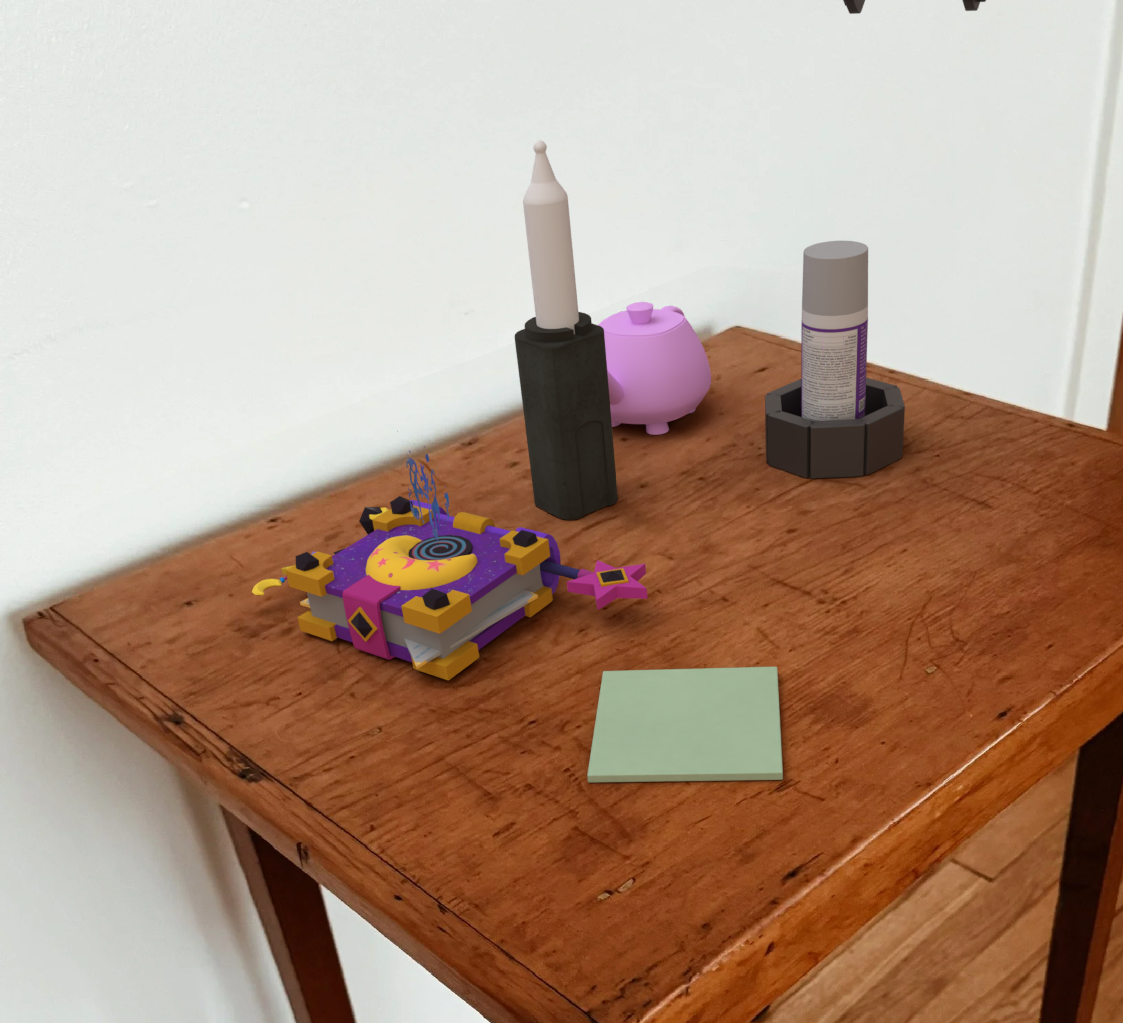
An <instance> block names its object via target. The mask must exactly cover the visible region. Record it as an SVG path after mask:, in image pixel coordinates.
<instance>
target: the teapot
mask: <svg viewBox="0 0 1123 1023" xmlns="http://www.w3.org/2000/svg"><path fill="white" fill-rule="evenodd" d="M625 309H626V310H622V311H619V312H616V313H613V314H612V315H610V316H608V317H605V318H604V319H603V320H601V321H600V323H598V324H597V325H598V326H601V327H602V328H603V329H604V337H605V349H606V361H607V373H608V385H609V397H610V409H611V421H612V428H615V427H618V426H620V425H621V424H627V425H628V424H629V425H645V432H646V433H647V434H649V435H653V436H654V435H655V436H656V435H657V436H658V435H663V434H666V433H668V432H669V431H670V427H669V424H668V423H669V422H672V421H675V420H678V419H680V418H683V417H684V416H686V415H689V414H692V413H694V412H695V411H696V408H697V407H698V406H699V405H700V404H701V402H702V401H703V400H704V398H705V397H706V395H707V393H709V390H710V388H711V386H712V385H711V384H712V373H711V368H710V363H709V360H708V355H707V353H706V350H705V348H704V346H703V344H702V342H701V340H700V338H699V335H697V333H696V331H695V330H694V328H693V326H692V325H691V323H690V322H689V320H688V319H687V318H686V316H685V313H684V312H683V310H682V309H681V308H679V307H678V306H674V305H666V306H663V307H661V308H660V309H659V308H658V309H657V308H654V304H653V303H651V302H647V301H638V302H633V303H631V304H629V305H627V306H626V308H625Z"/></svg>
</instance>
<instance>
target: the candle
mask: <svg viewBox="0 0 1123 1023" xmlns="http://www.w3.org/2000/svg"><path fill="white" fill-rule="evenodd" d="M547 148H548V146H547V144H546V143H545V141H543V140H541V139H539V140H536V141H535V142H534V144H533V148H532V149H533V152H534V153H535V156H534V161H533V166H532V173H531V179H530V183H529V185H528V186H527V189H526V191H525V193H524V195H523V198H522V199H523V200H522V205H523V215H524V216H523V217H524V225H525V232H526V242H527V251H528V252H527V253H528V260H529V269H530V270H529V271H530V278H531V287H532V295H533V297H532V298H533V304H534V306H533V307H534V312H535V316H533V317H531V318H529V319H527V321H526V322H525V323H524V328H523V329H521V330H518V331H516V333H515V334H514V344H515V353H516V360H517V361H516V362H517V370H518V377H519V386H520V394H521V395H520V396H521V402H522V409H523V410H522V411H523V419H524V427H525V435H526V443H527V451H528V460H529V468H530V476H531V484H532V491H533V501H534V505H535V506H536V507H537V508H539V509H540V510H543V511H545V512H546V513H549V514H551V515H553V517H554V516H555V517H556V518H558V519H561V520H566V521H575V520H579V519H582V518H584V516H586V515H588V514H591V513H593V512H596V511H598V510H600V509H603V508H605V507H608V506H610V507H611V506H613V505H615V504H617V502H618V501H619V496H618V484H617V483H618V482H617V472H616V471H617V470H616V460H615V448H614V435H613V434H614V432H613V427H612V421H611V409H610V397H609V385H608V373H607V361H606V349H605V337H604V329H603V328H602V327H601V326H598V324H596V323H593V322H592V317H591V315H589V314H588V313H586V312H582V311H579V304H578V294H577V291H578V290H577V284H576V283H577V282H576V271H575V262H574V261H575V260H574V250H573V241H572V240H573V238H572V229H571V228H572V227H571V217H570V207H569V198H568V196H569V195H568V194H567V191H566V190H565V188H564V187H563V186H562V184H560V182H559V181H558V179H557V178H556V176H555V173H554V170H553V168H552V165H551V163H550V160H549V157H548V155H547V153H546V152H547Z"/></svg>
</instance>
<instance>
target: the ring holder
mask: <svg viewBox="0 0 1123 1023" xmlns="http://www.w3.org/2000/svg"><path fill="white" fill-rule="evenodd" d="M905 412H906V405H905V402H904V399H903V395H902V392H901V388H900V387H898V385H896V384H892V383H888V382H884V381H881V380H877V379H874V378H869V377H866V398H865V416H864V417H862V418H860V419H848V420H829V421H812V420H809V419H806V418H802V417H801V378H799V379H797V380H795V381H794V380H793V381H792V382H790V383H787V384H786V385H783V386H780V387H779V388H776V389H773V390H771V391H769V392H767V393H766V394H765V395H764V426H765V428H764V430H765V432H764V433H765V434H764V436H765V438H764V439H765V441H764V442H765V461H766V464H768V466H770V467H772V468H776V469H779V470H781V471H784V472H787V473H790V474H793V475H795V476H799V477H802V478H804V479H808V478H810V480H813V479H814V480H815V479H835V478H836V479H837V478H856V477H864V475H865V476H869V475H871V474H873V473H875V472H877V471H878V470H881V469H882V468H885V467H887V466H889V465H891V464H893V463H895V462H897V461H899V460H901V459H902V457H903V455H904V454H903V452H904V436H905V435H904V433H905V416H906V414H905Z"/></svg>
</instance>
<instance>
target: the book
mask: <svg viewBox="0 0 1123 1023" xmlns="http://www.w3.org/2000/svg"><path fill="white" fill-rule="evenodd" d="M396 431H397V432H398V430H396ZM414 445H416V444H415V442H414ZM423 447H424V448H425V447H426V446H425V445H423ZM408 452H409V454H412V453H411V450H408ZM406 457H407V458H408V459H406V462H405V467H406V468H407V469H408V468H409V473H408V474H409V481H410V484H411V486H412V488H413V492H412V489H410V488H409V485H408V486H407V490H408V498H409V499H407V498H405V497H403V496H400V495H399V496H397V497H396V498H394V499H392V500H391V501H390V502H389V505H390V509H388V508H387V507H380V506H364V508H363V511H362V513H361V515H360V517H359V523H360V525H361V526H362V528H363V530H364V531H365V533H366V536H363V537H362V538H360V539H359V540H357V541H355V542H354V543H352V544H350V545H349V546H347V547H346V548H342V549H339V550H337V551H334V552H333V554H334V555H332V554H328V553H324V552H321V551H312V552H311V553H310V552H308V551H305V552H303V553H300V554H298V555H295V564H294V565H290V566H285V567H281V568H280V569H281V573H282V575H286V576H285V577H284V576H283V577H280V578H279V579H277V578H266V579H263V580H260V581H259V582H257V583H256V584H255V585H254V586H252V590H251V593H252V594H254V596H257V597H263V596H264V595H265V591H266V590H268V589H270V588H274V587H281V586H282V583H283V584H284V583H285V582H286V580H287V582H288V586H289V588H292V589H296V590H298V591H301V592H305V593H306V595H307V598H305V599H303V600H301V601H299V605H300V606H302V607H306V608H308V610H307V611H305V612H304V613H302V614H300V615H299V616H297V623H298V627H299V630H300V631H301V632H303V633H306V634H310V635H312V636H314V637H318V638H321V639H324V640H327V641H330V642H333V641H335V640H337V639H338V638H339V639H341V640H343V641H347V642H349V643H352V644H353V648H354V649H355V650H357V651H361V652H365V653H368V654H371V655H374V656H376V657H380V658H382V659H385V660H388V661H390V660H392V659H394V658H397V659H401V660H404V661H406V662H409V663H412V669H414V670H416V671H419V672H422V673H425V674H427V675H431V676H434V677H437V678H440V679H443V680H445V681H450V680H451V679H452V678H454V677H456V675H458V674H459V673H461V672H462V671H463V670H465V669H466V668H468V667H469V666H470V665H471V664H473V663H475V661H477V660H478V659H479V658H480V653H479V651H480V650H481V649H482V648H484V647H485V646H486V645H487V644H489V643H491V642H492V641H493V640H494V639H496V638H498V636H500V635H501V634H502V633H504V632H505V631H506V630H508V629H509V628H511V627H512V626H513V625H515V624H516V623H517V622H518V621H520V620H521V619H523V618H524V617H528V618H531V617H533V616H534V615H536V614H537V613H538V612H540V611H541V610H542V609H544V608H546V607H547V606H548V605H549V604H550V603H552V602H553V601H554V598H553V594H554V593H555V592H556V590H557V588H558V586H559V580H560V577H563V578H568V579H570V580H568V581H566V589H567V593H572V594H578V595H585V596H590V597H594V599H595V600H594V601H595V604H596V609H597V611H599V610H601V609H602V608H604V607H606V606H607V605H609V604H611V603H612V602H613V601H615V600H617V599H640V600H641V599H643V600H644V599H648V589H647V587H646V586H644V585H643V584H642V583H640V582H639V581H640V580H641V579H642V578H643V577H644V576H645V575H646V574H647V570H646V569H647V567H646V563H641V564H633V565H626V566H620V567H615V566H612V565H611V564H607V563H605V562H604V561H600V560H598V559H597V560H596V563H595V567H594V571H590V570H588V569H585V568H584V567H583V568H581V569H579V568H576V567H571V566H568V565H563V564H561V552H560V548H559V545H558V542H557V541H556V539H555V538H554V536H553V535H552V534H550V533H545V532H542V531H538V530H534V529H530V528H525V527H521V526H520V527H517V528H515V530H513V529H512V530H508V529H504V528H500V527H496V524H495V522H494V520H493V519H491V518H489V517H486V516H481V515H478V514H474V513H469V512H466V511H461V512H458V513H457V514H456V515H455V516H452V515H450V513H449V507H450V497H449V493H448V492H444V494H443V495H444V498H445V501H446V502H444V506H445V509H444V508H443V507H442V506H440V505H439V502H438V498H437V487H436V484H435V479H434V478H433V476H436V473H435V471H434V469H431V470H430V486H429V477H427V476H429V474H428V473H425V472H424V468H425V465H424V464H422V463H421V462H419V465H420V472H421V475H420V473H419V470H418V466H417V462H416V460H414V459H413V458H411V457H409V455H408V454H407V455H406ZM425 461H426V463H427V464H428V463H429V462H430V456H429V453H428V452H427V454H426V453H425ZM408 465H409V466H408ZM413 468H415V469H413ZM427 470H428V469H427V468H426V471H427ZM412 474H413V476H412ZM418 476H419V479H420V482H424V485H423V488H422V487H421V486H420V485H419V482H418ZM432 486H433V487H432ZM444 488H445V489H446V488H447V486H446V485H445V486H444ZM433 489H434V494H432V498H433V501H432V502H431V503H430V498H429V492H433ZM413 493H414V497H415V499H416V500H415V499H411V496H412V494H413ZM420 495H421V498H422V499H424V498H426V500H427V502H423V501H420V498H419V497H420Z"/></svg>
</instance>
